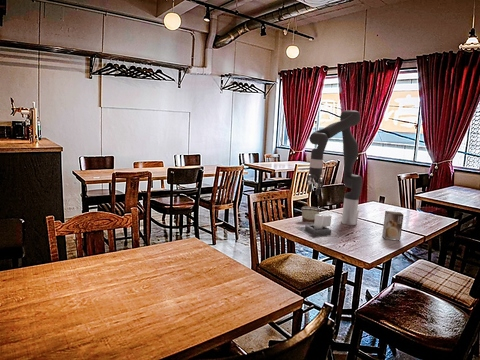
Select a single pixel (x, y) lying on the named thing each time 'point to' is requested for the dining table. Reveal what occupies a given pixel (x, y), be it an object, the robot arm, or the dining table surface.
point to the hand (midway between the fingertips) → (313, 193)
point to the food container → (309, 213)
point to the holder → (317, 231)
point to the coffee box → (392, 225)
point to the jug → (322, 221)
